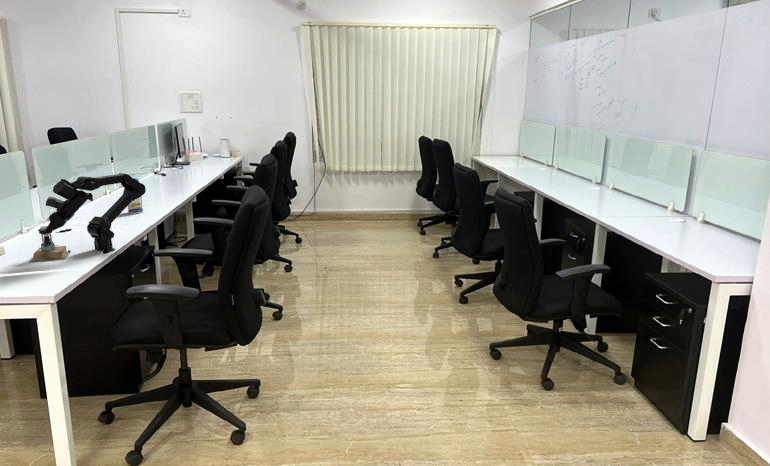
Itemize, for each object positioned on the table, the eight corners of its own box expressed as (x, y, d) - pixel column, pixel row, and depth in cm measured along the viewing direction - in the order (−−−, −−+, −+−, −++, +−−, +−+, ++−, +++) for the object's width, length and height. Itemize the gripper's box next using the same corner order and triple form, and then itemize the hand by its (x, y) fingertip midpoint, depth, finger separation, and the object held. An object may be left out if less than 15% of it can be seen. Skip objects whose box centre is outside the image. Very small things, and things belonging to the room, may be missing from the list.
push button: (58, 247, 236) (54, 224, 234) (60, 249, 232) (57, 226, 230) (40, 249, 232) (36, 226, 230) (42, 252, 228) (38, 229, 226)
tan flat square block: (66, 252, 239) (65, 245, 238) (61, 258, 230) (60, 251, 229) (40, 254, 236) (39, 247, 235) (34, 260, 226) (33, 253, 226)
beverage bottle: (146, 211, 329) (142, 178, 324) (138, 214, 320) (135, 180, 316) (132, 210, 329) (129, 177, 324) (125, 213, 321) (121, 180, 316)
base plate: (71, 253, 241) (71, 249, 240) (65, 261, 229) (64, 258, 229) (37, 255, 237) (37, 252, 236) (29, 264, 225) (29, 260, 224)
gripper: (62, 186, 236) (37, 213, 236) (51, 193, 219) (24, 222, 218) (85, 203, 241) (60, 229, 240) (76, 212, 223) (49, 240, 223)
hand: (48, 230), depth 230 cm, fingers open, 9 cm apart
